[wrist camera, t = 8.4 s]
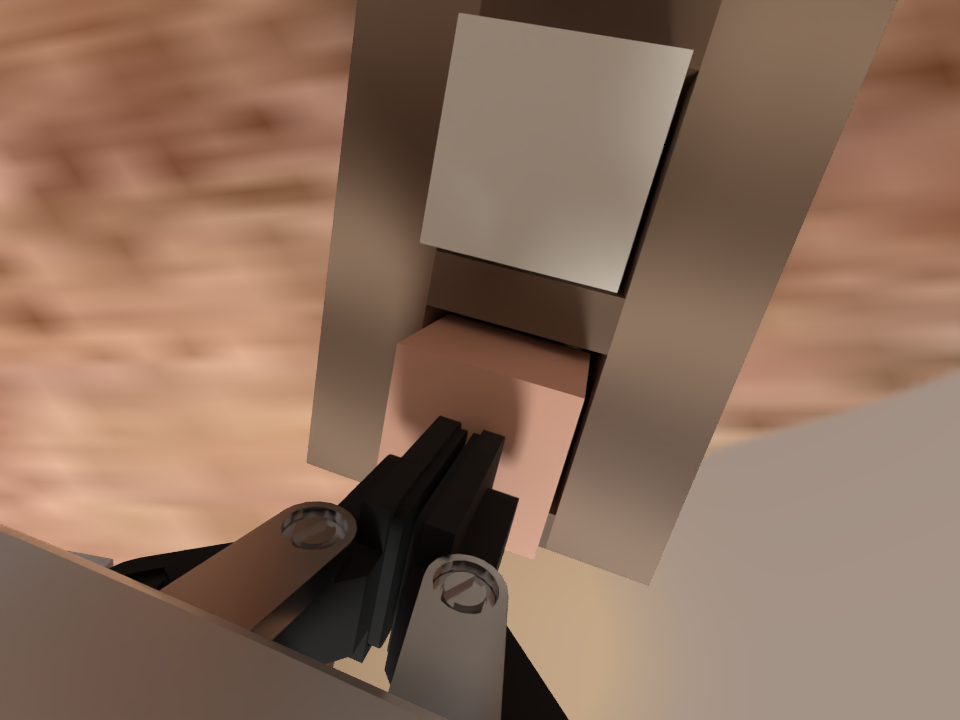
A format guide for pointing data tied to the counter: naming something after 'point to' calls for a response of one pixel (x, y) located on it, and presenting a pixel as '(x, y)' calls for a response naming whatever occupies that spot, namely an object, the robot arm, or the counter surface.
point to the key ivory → (549, 146)
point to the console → (653, 259)
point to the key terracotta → (492, 406)
